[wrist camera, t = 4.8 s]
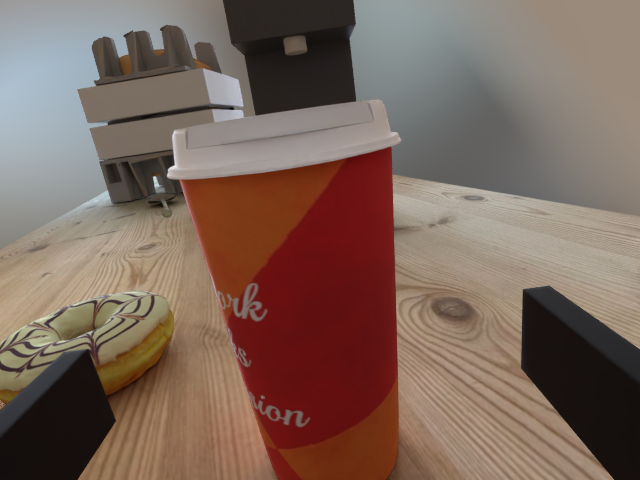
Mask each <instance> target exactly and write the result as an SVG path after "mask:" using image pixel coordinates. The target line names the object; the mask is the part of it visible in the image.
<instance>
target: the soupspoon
mask: <svg viewBox="0 0 640 480" xmlns="http://www.w3.org/2000/svg"><path fill="white" fill-rule="evenodd" d="M175 197H176V195H174V194H170V193H160V194H156V195H154V196H152V197H151V198H149V199H148V201H147V203H149V204H156V203H162V204H163V206H164V208H163V209H164V210H163V211H162V215H163V216H164V217H169V216H171V213H172V212H171V210H170V209H168V207H167V204H166V201H169V200H171V199H173V198H175Z"/></svg>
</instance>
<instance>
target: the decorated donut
mask: <svg viewBox="0 0 640 480" xmlns="http://www.w3.org/2000/svg"><path fill="white" fill-rule="evenodd" d="M173 329H174V317H173V314H172V312H171V310H170V308H169V303H168V301H167V299H166V298H165V297H163V296H160V295H158V294H155V293H151V292H147V291H132V292H125V293H118V294H111V295H105V296H99V297H95V298H91V299H88V300H85V301H82V302H78V303H76V304H73V305H69V306H66V307H63V308H61V309H60V310H58V311H56V312H54V313H52V314H49V315H47V316H45V317H43V318H41V319H38V320H36V321H34V322H32V323H30V324H28V325H26V326H25V327H23V328H21V329H19V330H18V331H16V332H15V333H13V334H12V335H11V336H9V337H8V338H6V339H5V340H3V341H2V342H1V343H0V400H1V401H2V402H4V403H5V404H8V403H9V402H10V401H11V400H12V399H13V398H15V397H16V396H17V395H18V394H19V393H20V392H21V391H22V390H23V389H24V388H25V387H26V386H27V385H29V384H30V383H31V382H32V381H33V380H34V379H35V378H36V377H37V376H38V375H39V374H40V373H42V372H43V371H44V370H45V369H46V368H47V367H48V366H49V365H50V364H51V363H52V362H53V361H54V360H56V359H57V358H58V357H59V356H60V355H61V354H62V353H63V352H67V351H74V350H82V349H89V352H90V355H91V357H92V360H93V362H94V365H95V368H96V370H97V373H98V375H99V378H100V381H101V383H102V386H103V388H104V391H105V394H106V396H107V395H110V394H113V393H115V392H117V391H118V390H119V389H120V388H122V387H124V386H127V385H129V384H130V383H132V382H133V381H135V380H136V379H138V378H139V377H141V376H142V375H143V374H144V373H145V371H146V370H147V369H148V368H150V367H152V366H154V365H155V364H156V362H157V361H158V360H159V359H160V357H161V356H162V354H163V351H164V349H165V348H166V346H167V344H168V343H169V342H170V340H171V337H172V334H173Z"/></svg>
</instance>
